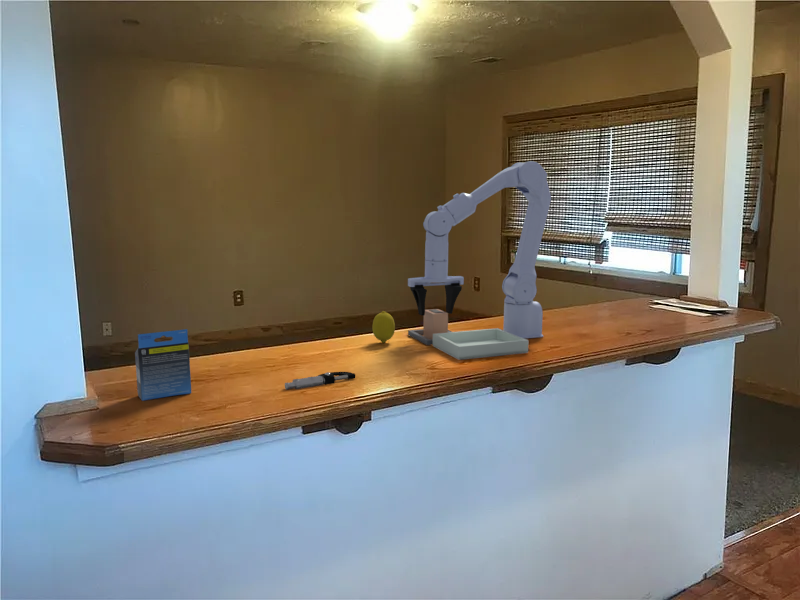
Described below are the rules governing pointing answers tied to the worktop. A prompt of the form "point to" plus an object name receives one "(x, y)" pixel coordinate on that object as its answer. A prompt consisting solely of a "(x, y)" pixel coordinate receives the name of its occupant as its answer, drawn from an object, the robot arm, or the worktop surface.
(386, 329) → the lemon
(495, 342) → the parts tray
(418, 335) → the frame
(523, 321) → the robot arm
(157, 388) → the label tape cartridge
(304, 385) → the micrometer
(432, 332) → the block
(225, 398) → the worktop surface
